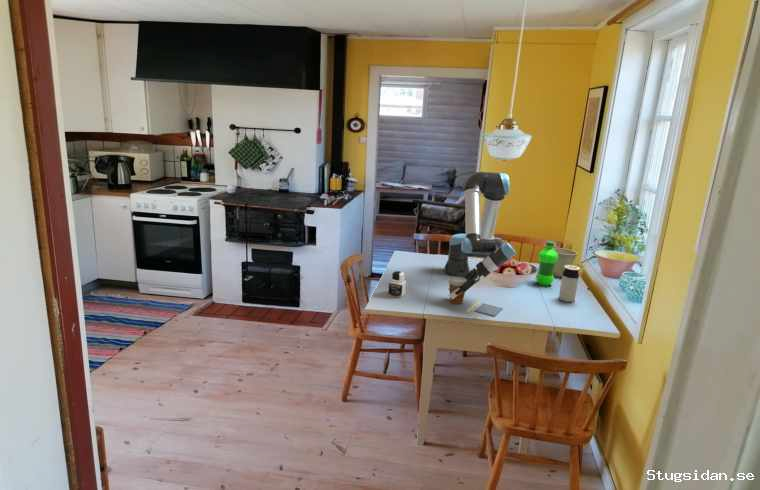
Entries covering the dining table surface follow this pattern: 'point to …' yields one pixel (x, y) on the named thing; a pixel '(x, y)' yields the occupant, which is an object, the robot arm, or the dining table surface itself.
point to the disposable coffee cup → (453, 285)
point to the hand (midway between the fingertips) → (450, 294)
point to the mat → (488, 309)
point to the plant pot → (563, 260)
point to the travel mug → (569, 283)
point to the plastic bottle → (546, 265)
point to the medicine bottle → (397, 285)
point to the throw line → (472, 307)
